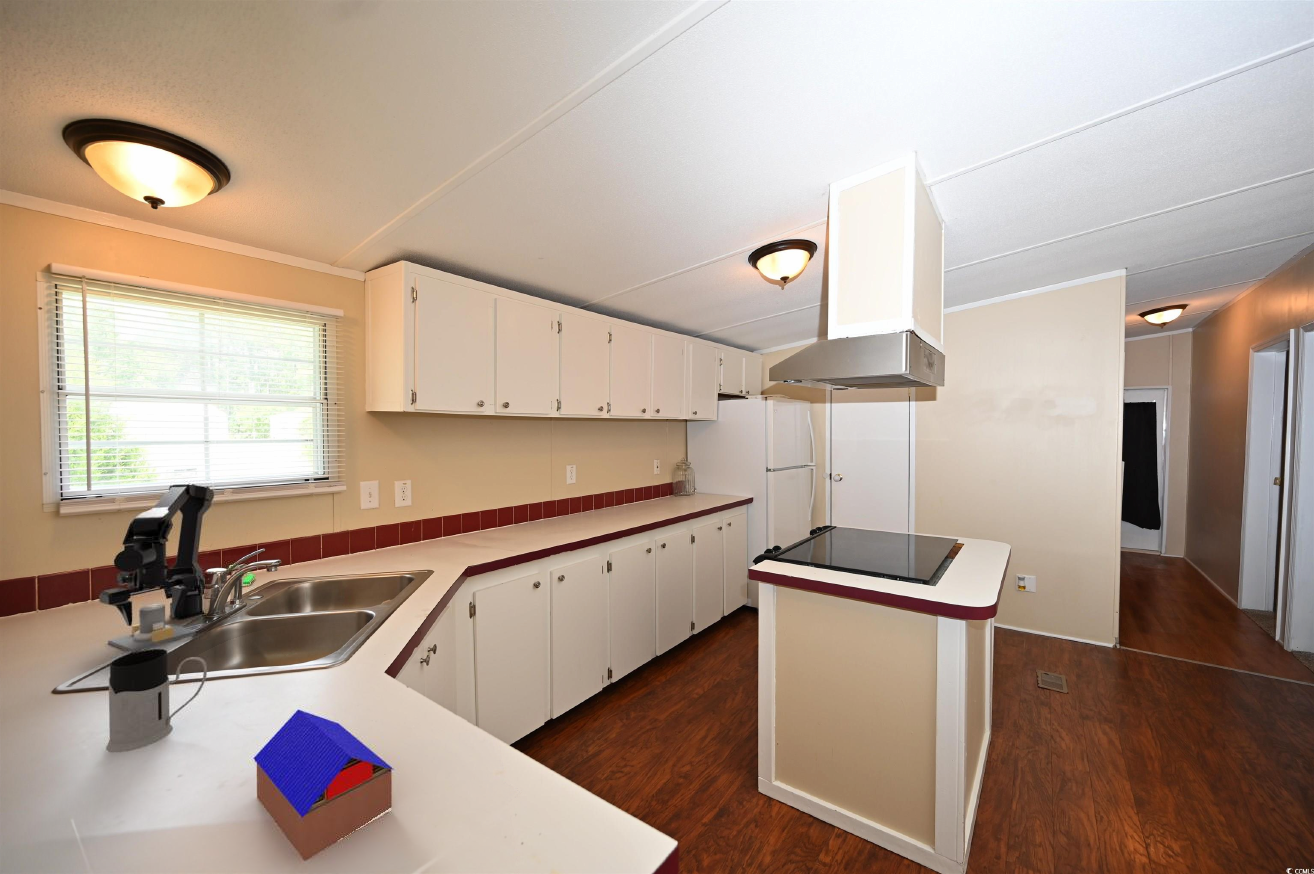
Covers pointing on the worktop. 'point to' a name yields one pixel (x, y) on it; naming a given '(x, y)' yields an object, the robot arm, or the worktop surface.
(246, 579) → the mechanical part
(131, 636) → the board
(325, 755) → the house
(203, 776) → the worktop surface
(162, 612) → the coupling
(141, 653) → the glass holder
